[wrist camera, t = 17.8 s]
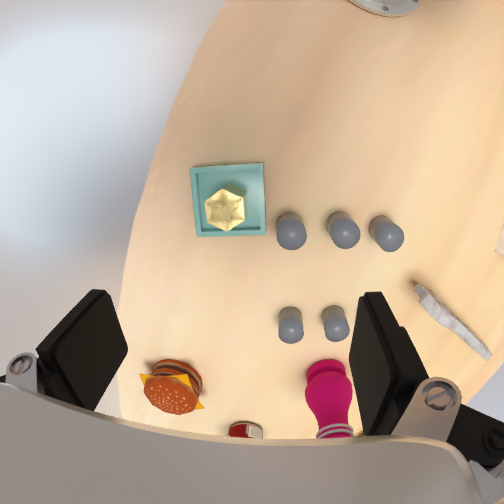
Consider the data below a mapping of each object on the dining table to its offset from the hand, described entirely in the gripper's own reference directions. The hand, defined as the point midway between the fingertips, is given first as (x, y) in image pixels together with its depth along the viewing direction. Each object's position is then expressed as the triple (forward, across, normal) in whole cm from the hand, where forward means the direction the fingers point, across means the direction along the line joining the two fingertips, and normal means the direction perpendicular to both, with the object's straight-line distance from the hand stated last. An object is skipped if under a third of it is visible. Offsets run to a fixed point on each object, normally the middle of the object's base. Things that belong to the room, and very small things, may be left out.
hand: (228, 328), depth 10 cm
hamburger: (+25, +16, +31) cm, 43 cm away
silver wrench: (+26, -31, +21) cm, 45 cm away
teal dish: (+26, +4, +1) cm, 26 cm away
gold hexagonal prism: (+25, +4, +1) cm, 25 cm away
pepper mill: (+25, -9, +29) cm, 40 cm away
